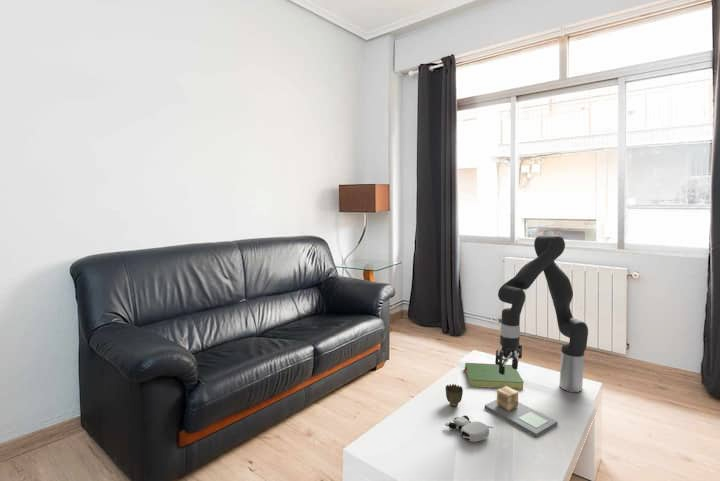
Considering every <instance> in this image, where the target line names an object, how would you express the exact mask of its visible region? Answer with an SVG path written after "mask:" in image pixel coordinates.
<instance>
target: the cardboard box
mask: <svg viewBox="0 0 720 481" xmlns="http://www.w3.org/2000/svg"><path fill="white" fill-rule="evenodd" d="M496 400H497V405H499V406H501V407H503V408H505V409H506V410H508V411H509V410H511V409H513V408H515V407H518V402H519V391H518V390H516V389H515V388H509V387H507V386H505V387H503V388H500V387H499V388H498V389H497V390H496Z"/></svg>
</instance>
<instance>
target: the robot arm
mask: <svg viewBox="0 0 720 481" xmlns="http://www.w3.org/2000/svg"><path fill="white" fill-rule="evenodd" d="M533 246H534V251H535V254H536V256H537V257H536V258H534V259H532V260H530V261H529V262H528V263H526V264H525V265H523V266H522V267H521V268H520V269H519V270H518V272H517V273H516V274H515V276H514V277H512V278H511V279H509V280H508V281H506V282H505V283H503V285H501V286H500V288H499V289H498V291H497V292H498V293H497V297H498V299H499V300H500V301H501V302H503V303H507V304H510V305H511V307H510V308H509V307H506V308H503V309H502V311H501V322H500V330H499V331H500V333H499V345H500V346H501V349H500V350H499V349H496V350H495V361H494V362H495V363H494V364H497V365H499V373H500V374H502V375H504V374H505V365H507V363H508V362H509V360H511V359H512V361H511V365H512V368H513V369H515V370H516V369H517V370H518V369H519V368H518V367H519V361H520V359H522V357H523V345H521V343H520V334H521V329H520V322H521V313H522V310H523V307H524V304H525V301H526V293H525V291H527V290H528V289H529V288H530V287H531V286H532V285H533V283H534V282H535V281H536V279H537V278H538V277H539V276H540V275H541V274H542V272H543V274H544V276H545V280H546V282H547V287H548V288H547V289H548V292H549V294H550V296H551V300H552V304H553V307H554V311H555V315H556V322H557V327H558V331H559V332H560V333H561V334H562V335H563V336H565V338H566V337H567V338H569V342H568V343H563V344H562V346H561V350H560V351H561V353H560V370H559V387H561V388H562V389H561V388H560V389H561V390H563V389H564V390H563V391H565V390H567V391H566V392H568V391H571V392H570V393H572V392H578V393H580V392H579V391H581V390H582V391H583V383H584V382H583V380H584V360H585V352H586V349H587V345H588V337H589V327H588V325H587V324H586V323H585V322H584V321H582V320H579V319H577V318H574V316H573V314H572V310H571V302H572V300H573V297H574V291H573V288H572V287H573V286H572V283H571V281H570V278H569V276H568V275H567V274H566V273H565V272H564V271H563V270H562V269H561V268H560V267H559V265H557V263H556V262H555V260H557V259H558V258H559V257H560V256H561V255H562V254H563V253H564V250H565V248H566V242H565V239H564V237H562V236H561V235H557V234H555V235H554V234H550V235H549V234H547V235H546V234H544V235H543V234H542V235H538V236H536V237H535V239H534V245H533ZM582 391H581V392H582Z"/></svg>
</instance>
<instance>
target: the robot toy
mask: <svg viewBox="0 0 720 481" xmlns="http://www.w3.org/2000/svg"><path fill="white" fill-rule="evenodd" d="M452 420H453V421H452V422H451V421H449V422H445V424H444V425H445V427H448V429H451V430H455V429H456V430H457V431H460V434H461V437H462V438H463V439H465V440H467V441H468V442H470V443H472V442H473V443H475V442H479V441H482V440H485V439H486V438H488V436H490V429H494V427H493V426H489V425H487V424H485V423H483V422H481V421H471V420H470V418H469V416H468V415H465V414H464V415H462V416H456V417H453V419H452Z"/></svg>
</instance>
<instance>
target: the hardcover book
mask: <svg viewBox="0 0 720 481" xmlns="http://www.w3.org/2000/svg"><path fill="white" fill-rule="evenodd" d="M463 368H464V370H465V371H466V373H467V379H468V381H469V385H470V386H471V387H481V388H482V387H483V388H485V387H486V388H499V389H500V388H503V387H505V386H507V387H509V388H512V389H519V390H520V389H521V390H522V389H523V390H524V383H525V382H524V380H523V378H522V377H521V375H520V373H519V372H518V369H516V370H515V369H513V368H512V364H505V374H504V375H502V374H500V373H499V365H497V364H495V363H481V362H479V363H478V362H476V363H475V362H465V363H464V367H463Z"/></svg>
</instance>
